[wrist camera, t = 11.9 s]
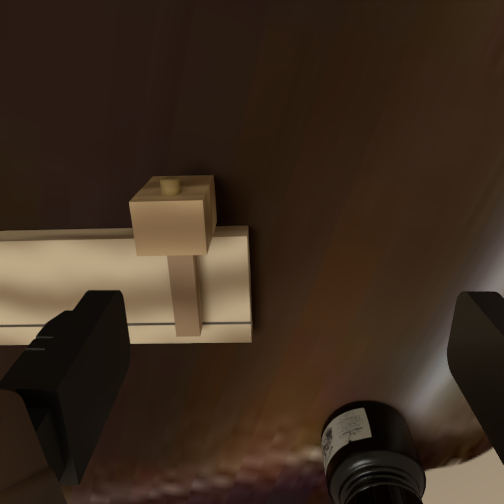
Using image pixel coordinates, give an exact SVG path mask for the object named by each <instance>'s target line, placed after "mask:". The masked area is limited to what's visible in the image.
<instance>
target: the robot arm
mask: <svg viewBox="0 0 504 504" xmlns="http://www.w3.org/2000/svg"><path fill="white" fill-rule="evenodd" d="M130 356H131V345H130V338H129V331H128V324H127V317H126V310H125V303H124V297H123V294H122V292H121V291H120V290H88V291H87V292H86V293H85V294H84V296H83V297H82V298H81V300H80V301H79V302H78V304H77V305H76V307H75V308H74V309H73V310H65V311H63V312H62V313H60V314H59V315H57V316H56V317H54V318H53V319H51V320H50V321H48V322H47V323H46V324H45V325H44V327H43V328H42V329H41V330H40V332H39V333H38V334H37V335H36V339H33V340H32V342H31V343H30V344H29V345H28V347H27V350H26V351H24V352H23V353H22V354H21V356H20V357H19V358H18V359H17V361H16V362H15V363H14V364H13V366H12V367H11V368H10V369H9V371H8V372H7V373H6V374H5V376H4V377H3V378H2V380H1V381H0V504H67V503H66V500H65V498H64V495H63V493H62V490H61V487H60V485H79V484H80V482H81V480H82V477H83V475H84V473H85V470H86V468H87V466H88V463H89V461H90V458H91V456H92V454H93V451H94V449H95V447H96V444H97V442H98V440H99V437H100V435H101V432H102V430H103V428H104V425H105V423H106V421H107V418H108V416H109V414H110V411H111V409H112V407H113V404H114V402H115V399H116V397H117V395H118V392H119V390H120V388H121V385H122V383H123V381H124V378H125V376H126V373H127V371H128V368H129V364H130ZM447 359H448V365H449V369H450V372H451V374H452V376H453V377H454V379H455V381H456V383H457V384H458V386H459V388H460V390H461V391H462V393H463V395H464V397H465V398H466V400H467V402H468V404H469V405H470V407H471V409H472V411H473V412H474V414H475V416H476V418H477V419H478V421H479V423H480V425H481V426H482V428H483V430H484V432H485V433H486V435H487V437H488V439H489V440H490V442H491V444H492V446H493V447H494V449H495V451H496V453H497V454H498V456H499V458H500V460H501V461H502V463H503V465H504V298H503V297H502V296H501V295H500V294H499V293H497V292H465V291H463V292H461V293H460V294H459V295H458V298H457V301H456V305H455V310H454V316H453V321H452V326H451V331H450V336H449V342H448V347H447Z"/></svg>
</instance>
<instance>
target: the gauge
mask: <svg viewBox="0 0 504 504" xmlns="http://www.w3.org/2000/svg"><path fill="white" fill-rule="evenodd" d="M129 205H130V212H131V219H132V226H133V233H134V240H135V247H136V254H137V256H167V261H168V269H169V278H170V286H171V295H172V304H173V312H174V321H175V329H176V337H192V336H200V335H201V331H202V327H203V323H202V312H201V301H200V290H199V278H198V267H197V256H196V255H207V253H208V250H209V247H210V243H211V240H212V237H213V233H214V230H215V227H216V223H217V214H216V200H215V185H214V175H198V176H159V177H152V178H151V179H150V180H149V181H148V182H147V183H146V184H145V185H144V187H143V188H142V189H141V190H140V191H139V192H138V193H137V194H136V195H135V196H134V197H133V198H132V199H131V200H130V202H129Z"/></svg>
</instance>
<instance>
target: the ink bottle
mask: <svg viewBox="0 0 504 504" xmlns="http://www.w3.org/2000/svg"><path fill="white" fill-rule="evenodd" d="M321 445H322V453H323V460H324V468H325V475H326V482H327V488H328V493H329V496H330V498H331V500H332V502H333V503H334V504H423V503H422V500H421V499H422V497H423V494H424V491H425V488H426V476H425V472H424V468H423V466H422V463H421V460H420V458H419V455H418V452H417V450H416V447H415V444H414V442H413V439H412V436H411V434H410V431H409V428H408V426H407V423H406V421H405V420H404V418H403V417H402V416H401V415H400V414H399V413H398V412H397V411H395V410H394V409H392V408H390V407H388V406H385V405H382V404H378V403H371V402H360V403H353V404H349V405H346V406H344V407H342V408H340V409H339V410H337V411H336V412H335V413H333V414H332V415H331V416H330V417H329V419H328V420H327V422H326V423H325V425H324V427H323V430H322V434H321Z"/></svg>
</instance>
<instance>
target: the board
mask: <svg viewBox="0 0 504 504" xmlns="http://www.w3.org/2000/svg"><path fill="white" fill-rule="evenodd" d="M196 256H197V267H198V278H199V290H200V301H201V312H202V323H203V327H202V331H201V335H200V336H192V337H176V329H175V321H174V312H173V304H172V295H171V286H170V278H169V269H168V261H167V256H137V254H136V247H135V240H134V233H133V228H114V229H68V230H23V231H0V345H29V344H30V343H31V342H32V340H33V339H36V335H37V334H38V333H39V332H40V330H41V329H42V328H43V327H44V325H45V324H46V323H47V322H48V321H50V320H51V319H53V318H54V317H56V316H57V315H59V314H60V313H62V312H63V311H65V310H73V309H74V308H75V307H76V305H77V304H78V302H79V301H80V300H81V298H82V297H83V296H84V294H85V293H86V292H87V291H88V290H120V291H121V292H122V294H123V297H124V303H125V310H126V317H127V324H128V331H129V338H130V344H138V343H230V342H252V304H251V279H250V255H249V230H248V226H216V227H215V230H214V233H213V237H212V240H211V243H210V247H209V250H208V253H207V255H196Z"/></svg>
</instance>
